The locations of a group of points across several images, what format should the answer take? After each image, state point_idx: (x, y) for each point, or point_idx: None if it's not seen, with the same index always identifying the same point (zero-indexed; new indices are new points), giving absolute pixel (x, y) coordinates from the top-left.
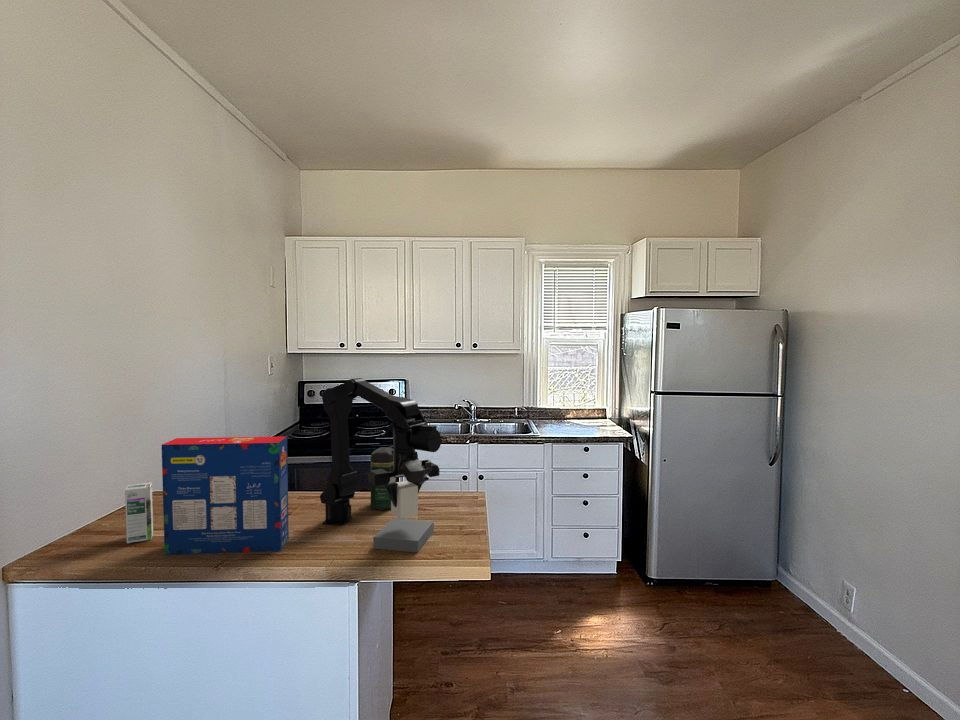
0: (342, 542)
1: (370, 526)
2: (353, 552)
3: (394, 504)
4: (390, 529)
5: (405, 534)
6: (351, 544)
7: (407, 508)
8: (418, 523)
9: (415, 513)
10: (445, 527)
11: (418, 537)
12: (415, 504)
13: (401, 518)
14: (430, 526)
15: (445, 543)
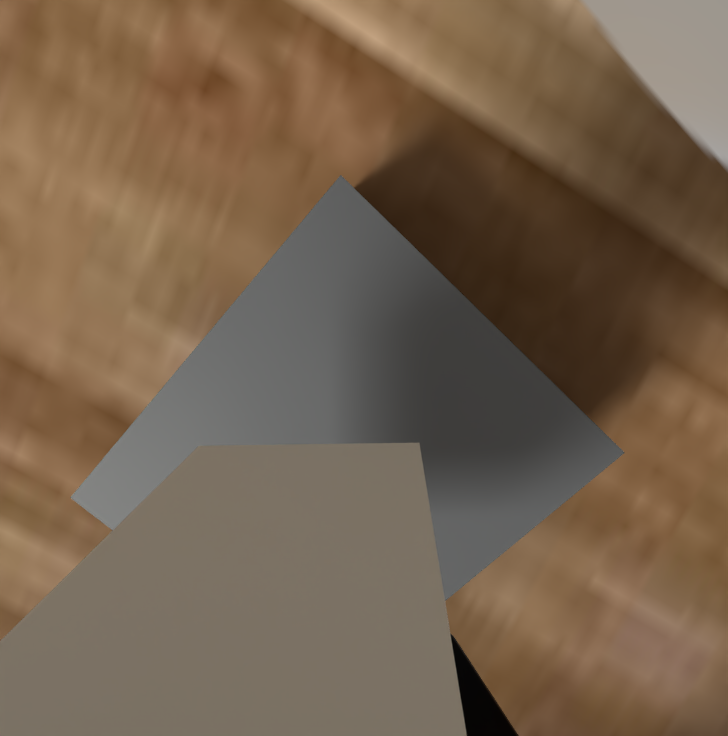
0: (701, 601)
1: None
2: (724, 428)
3: (471, 668)
4: (436, 522)
5: (375, 369)
6: (670, 547)
7: (311, 504)
8: None
9: (216, 460)
10: (23, 487)
11: (304, 249)
12: (159, 525)
13: (409, 443)
14: (124, 435)
15: (111, 240)
